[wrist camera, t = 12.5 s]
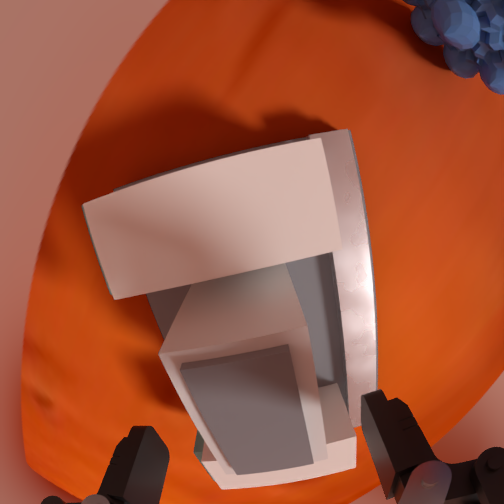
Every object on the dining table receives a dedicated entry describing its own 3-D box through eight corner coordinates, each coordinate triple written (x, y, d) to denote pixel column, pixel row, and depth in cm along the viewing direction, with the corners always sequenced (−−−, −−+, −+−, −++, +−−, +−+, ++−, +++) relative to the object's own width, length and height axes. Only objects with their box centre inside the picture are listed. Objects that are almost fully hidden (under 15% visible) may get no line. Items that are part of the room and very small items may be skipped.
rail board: (123, 187, 16) (61, 199, 10) (341, 133, 15) (393, 114, 9) (217, 430, 21) (210, 492, 15) (370, 398, 20) (396, 456, 14)
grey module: (193, 280, 16) (154, 360, 9) (283, 259, 16) (309, 332, 8) (232, 388, 18) (225, 480, 11) (307, 374, 18) (329, 464, 10)
